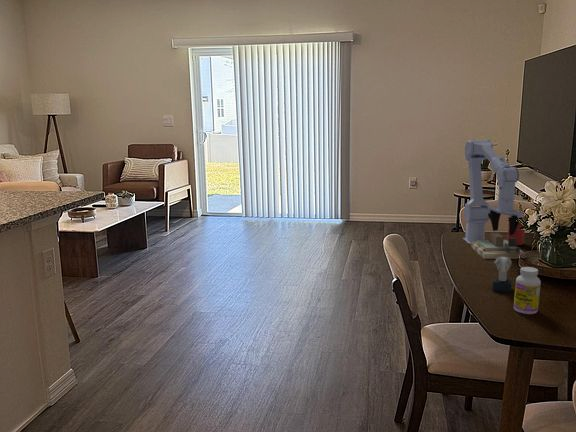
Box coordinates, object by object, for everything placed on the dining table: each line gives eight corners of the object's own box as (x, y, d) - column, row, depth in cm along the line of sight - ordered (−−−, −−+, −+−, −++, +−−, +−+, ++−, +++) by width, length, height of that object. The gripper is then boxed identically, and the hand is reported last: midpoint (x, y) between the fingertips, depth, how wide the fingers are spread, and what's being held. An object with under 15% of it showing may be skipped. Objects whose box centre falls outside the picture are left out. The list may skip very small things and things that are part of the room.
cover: (476, 242, 228) (477, 230, 227) (505, 242, 227) (506, 230, 226) (485, 250, 216) (486, 238, 215) (516, 250, 216) (516, 238, 215)
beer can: (520, 241, 235) (523, 214, 233) (525, 245, 229) (528, 218, 226) (505, 241, 236) (507, 214, 233) (509, 245, 230) (511, 218, 227)
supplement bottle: (509, 310, 160) (512, 269, 158) (519, 304, 165) (522, 264, 162) (532, 316, 156) (536, 274, 153) (541, 310, 160) (545, 269, 158)
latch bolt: (505, 245, 218) (505, 235, 217) (511, 245, 217) (511, 235, 217) (509, 249, 213) (510, 238, 212) (515, 249, 213) (516, 238, 212)
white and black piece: (510, 286, 181) (513, 254, 178) (510, 294, 173) (513, 261, 171) (492, 284, 183) (494, 253, 180) (492, 292, 175) (494, 260, 173)
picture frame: (470, 246, 230) (471, 237, 229) (509, 246, 229) (509, 237, 228) (483, 258, 212) (484, 248, 211) (525, 258, 211) (526, 248, 210)
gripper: (483, 196, 214) (481, 230, 217) (515, 202, 202) (512, 237, 205) (495, 194, 218) (493, 227, 221) (527, 200, 206) (524, 235, 209)
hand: (503, 232), depth 213 cm, fingers open, 7 cm apart
